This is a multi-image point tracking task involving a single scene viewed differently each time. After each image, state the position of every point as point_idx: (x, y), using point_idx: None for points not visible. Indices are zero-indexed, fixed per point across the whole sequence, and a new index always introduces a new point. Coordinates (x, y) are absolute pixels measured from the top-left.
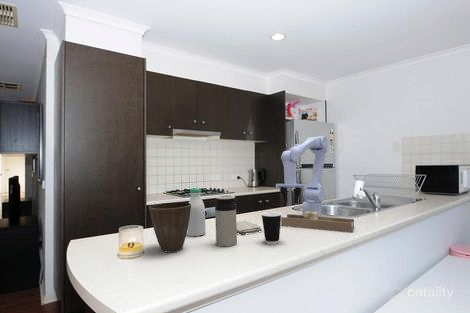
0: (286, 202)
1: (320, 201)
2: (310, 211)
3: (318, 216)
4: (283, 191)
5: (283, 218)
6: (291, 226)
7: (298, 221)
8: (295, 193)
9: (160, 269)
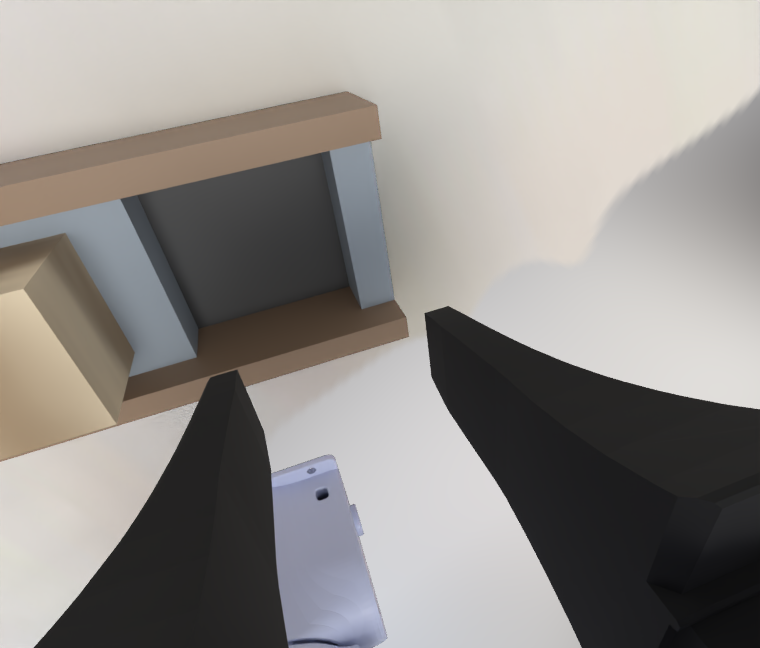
0: (430, 341)
1: None
2: (57, 438)
3: None
4: (643, 449)
5: (342, 111)
6: (218, 119)
7: (103, 155)
8: (155, 577)
9: None
